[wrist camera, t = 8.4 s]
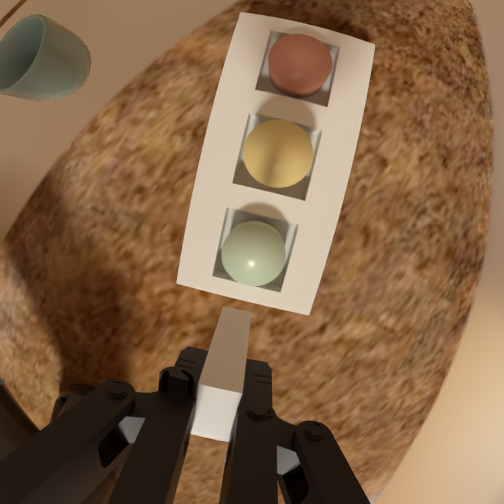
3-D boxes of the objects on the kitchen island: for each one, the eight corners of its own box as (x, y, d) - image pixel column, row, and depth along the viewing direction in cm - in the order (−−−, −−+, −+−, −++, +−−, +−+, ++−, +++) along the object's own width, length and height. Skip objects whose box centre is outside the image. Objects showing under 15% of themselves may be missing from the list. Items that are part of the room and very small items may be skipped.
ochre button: (240, 178, 24) (236, 178, 21) (254, 120, 23) (251, 112, 20) (300, 193, 24) (304, 195, 21) (314, 134, 23) (320, 129, 20)
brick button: (262, 90, 23) (261, 79, 20) (275, 42, 22) (275, 28, 19) (320, 104, 23) (326, 95, 20) (330, 55, 22) (336, 43, 19)
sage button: (221, 267, 27) (215, 277, 24) (233, 212, 26) (228, 217, 23) (276, 280, 27) (276, 292, 24) (290, 226, 26) (292, 232, 23)
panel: (185, 273, 29) (176, 283, 26) (243, 26, 23) (240, 12, 20) (305, 302, 29) (308, 315, 26) (365, 56, 23) (375, 44, 20)
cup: (104, 35, 24) (53, 0, 14) (99, 97, 25) (38, 75, 16) (51, 56, 24) (-3, 34, 14) (46, 114, 26) (-16, 104, 16)
